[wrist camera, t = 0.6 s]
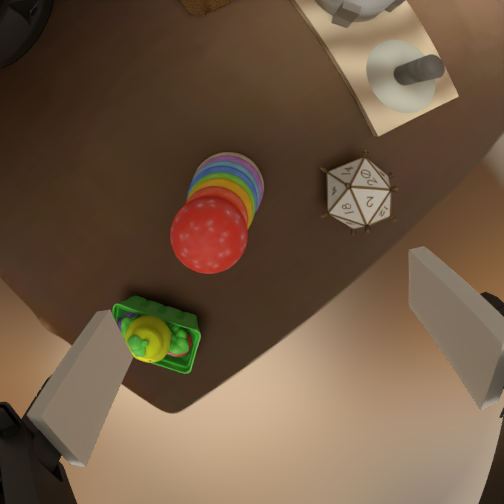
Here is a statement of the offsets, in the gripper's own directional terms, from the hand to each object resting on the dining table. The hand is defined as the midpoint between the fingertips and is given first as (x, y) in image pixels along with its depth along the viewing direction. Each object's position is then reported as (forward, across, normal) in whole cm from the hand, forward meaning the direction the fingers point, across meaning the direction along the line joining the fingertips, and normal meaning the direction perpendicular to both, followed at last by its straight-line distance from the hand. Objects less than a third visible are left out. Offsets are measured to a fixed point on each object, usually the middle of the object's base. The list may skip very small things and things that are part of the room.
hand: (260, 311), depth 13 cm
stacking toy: (+25, -3, +1) cm, 25 cm away
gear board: (+25, +17, +16) cm, 35 cm away
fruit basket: (+25, -16, -13) cm, 33 cm away
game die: (+25, +11, -2) cm, 27 cm away
